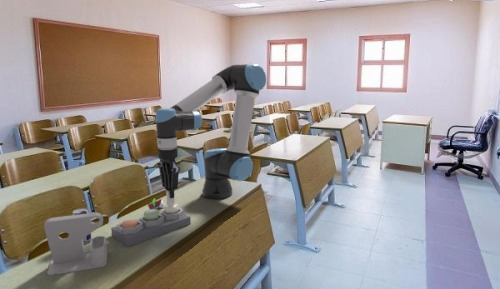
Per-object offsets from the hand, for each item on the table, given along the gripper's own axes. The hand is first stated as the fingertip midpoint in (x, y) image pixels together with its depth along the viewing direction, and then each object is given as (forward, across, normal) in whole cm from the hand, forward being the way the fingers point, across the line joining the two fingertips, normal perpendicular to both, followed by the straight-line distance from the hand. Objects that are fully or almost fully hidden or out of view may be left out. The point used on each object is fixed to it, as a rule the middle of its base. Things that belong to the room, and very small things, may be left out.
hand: (170, 204), depth 146 cm
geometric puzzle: (+8, -14, +1) cm, 16 cm away
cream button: (+3, 0, 0) cm, 3 cm away
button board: (+8, 0, -9) cm, 12 cm away
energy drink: (+8, -9, -32) cm, 34 cm away
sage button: (+3, 0, -9) cm, 9 cm away
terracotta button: (+5, 0, -18) cm, 18 cm away
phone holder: (+8, +6, -38) cm, 40 cm away
